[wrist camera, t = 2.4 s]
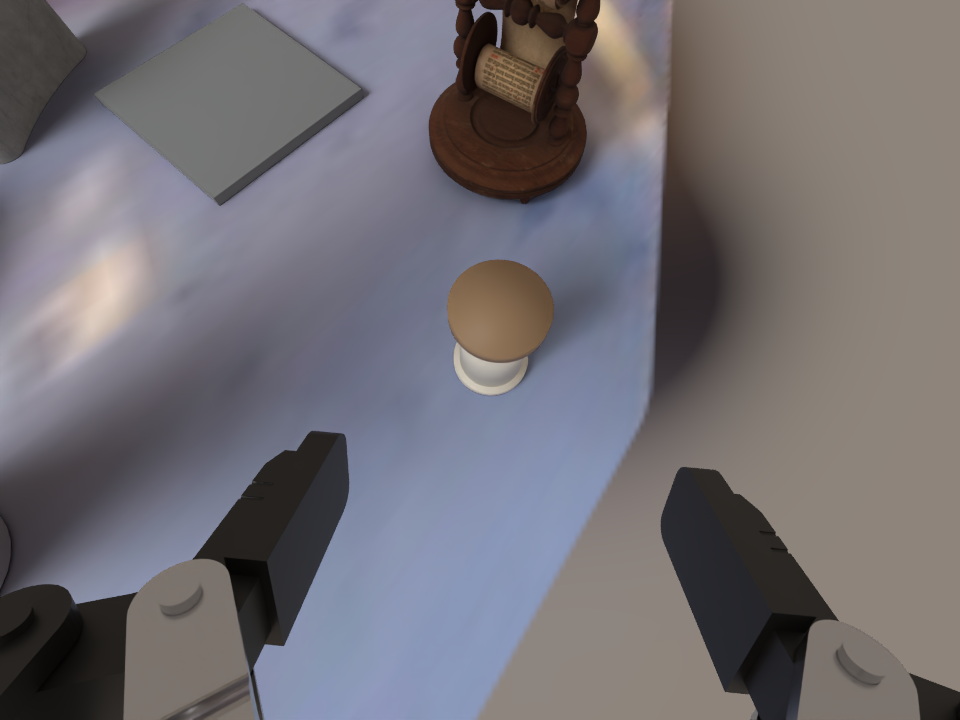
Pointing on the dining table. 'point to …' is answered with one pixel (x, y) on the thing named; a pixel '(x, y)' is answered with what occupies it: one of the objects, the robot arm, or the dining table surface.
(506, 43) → the scroll
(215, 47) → the mat
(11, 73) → the hip flask
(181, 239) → the dining table surface
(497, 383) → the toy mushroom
